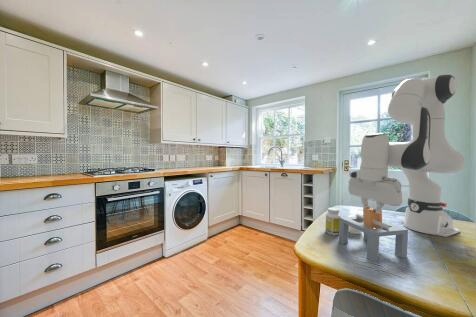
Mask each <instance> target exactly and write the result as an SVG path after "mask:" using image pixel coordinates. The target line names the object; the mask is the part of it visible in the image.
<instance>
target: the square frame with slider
mask: <svg viewBox="0 0 476 317" xmlns="http://www.w3.org/2000/svg"><path fill="white" fill-rule="evenodd" d="M355 215H356V216H351V217H347V216H341V217H340V218H339V235H338V242H340V244H341V243H342V244H348V243H349V231H348V228H349V226H351V227H353V228H355V229H357V230H359V231H362V233H363V239H364V240H366V259H367V260H369V261H370V262H372V263H373V262H374V263H375V262H379V252H380V251H379V250H380V249H379V248H380V237H388V236H390V237H391V236H395V244H394V255H396V256H397V257H399V258H401V259H403V258H408V241H409V228H406V227H403V226H400V225H398V224H395V223H391V222H389V221H387V220H383V219H382V223H381V222H379V221H376V220H373V224H375V225H377V226H379V227H382V228H377V229H376V228H373V229H372V228H370V227H368V226H365V225H363V224H361V223H359V222H363V214H360V213H356V214H355Z"/></svg>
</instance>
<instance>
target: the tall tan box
mask: <svg viewBox="0 0 476 317" xmlns="http://www.w3.org/2000/svg"><path fill="white" fill-rule="evenodd" d="M373 208H374V207H372V208H371V207H370V208H364V209H363V208H362V209H363V210H362V213H363V214H362V215H363V225H365V226H368V227H370V228H372V229H373V228H374V229H377V228H382V227H379V226H377V225H375V224H373V220H376V221H379V222H381V223H382V220H383V208H381V213H380V214H377V213H374V212H373V211H374V210H373Z"/></svg>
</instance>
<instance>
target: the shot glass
mask: <svg viewBox="0 0 476 317" xmlns="http://www.w3.org/2000/svg"><path fill="white" fill-rule="evenodd" d="M351 216H356V214H347V215H346V217H351ZM359 223H361V224H363V222H359ZM348 233H351V234H355V235H361V234H362V233H363V232H362V231H359V230H357V229H355V228H353V227H351V226H349V228H348Z"/></svg>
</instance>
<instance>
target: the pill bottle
mask: <svg viewBox="0 0 476 317" xmlns="http://www.w3.org/2000/svg"><path fill="white" fill-rule="evenodd" d="M339 213H340V209H339V208H336V207H328V208H327V213H326V214H325V232H326V233H327V234H329V235H331V236H332V235H333V236H339V218H340V217H342V216H341V214H339Z"/></svg>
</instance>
